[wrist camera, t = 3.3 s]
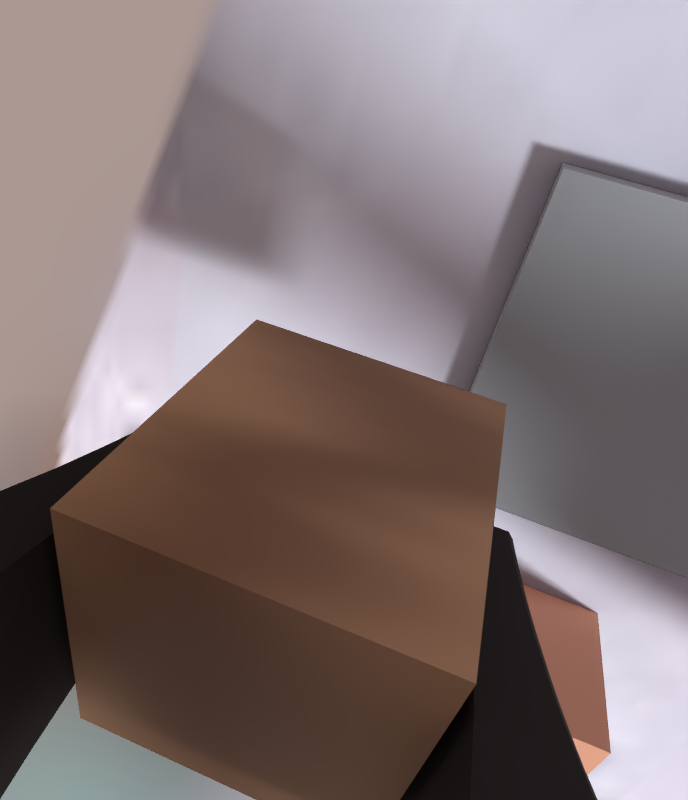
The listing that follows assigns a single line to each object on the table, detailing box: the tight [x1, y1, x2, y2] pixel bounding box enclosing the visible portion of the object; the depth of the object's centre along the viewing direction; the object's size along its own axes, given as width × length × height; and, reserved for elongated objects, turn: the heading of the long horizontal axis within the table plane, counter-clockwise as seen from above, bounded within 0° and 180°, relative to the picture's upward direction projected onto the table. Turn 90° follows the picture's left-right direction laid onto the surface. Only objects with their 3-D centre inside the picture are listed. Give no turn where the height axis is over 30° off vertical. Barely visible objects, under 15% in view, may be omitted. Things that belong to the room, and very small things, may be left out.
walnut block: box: [50, 320, 507, 800], centre depth 9 cm, size 4×4×5 cm
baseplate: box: [469, 163, 688, 578], centre depth 15 cm, size 10×10×1 cm
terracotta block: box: [523, 585, 611, 775], centre depth 20 cm, size 4×4×5 cm
